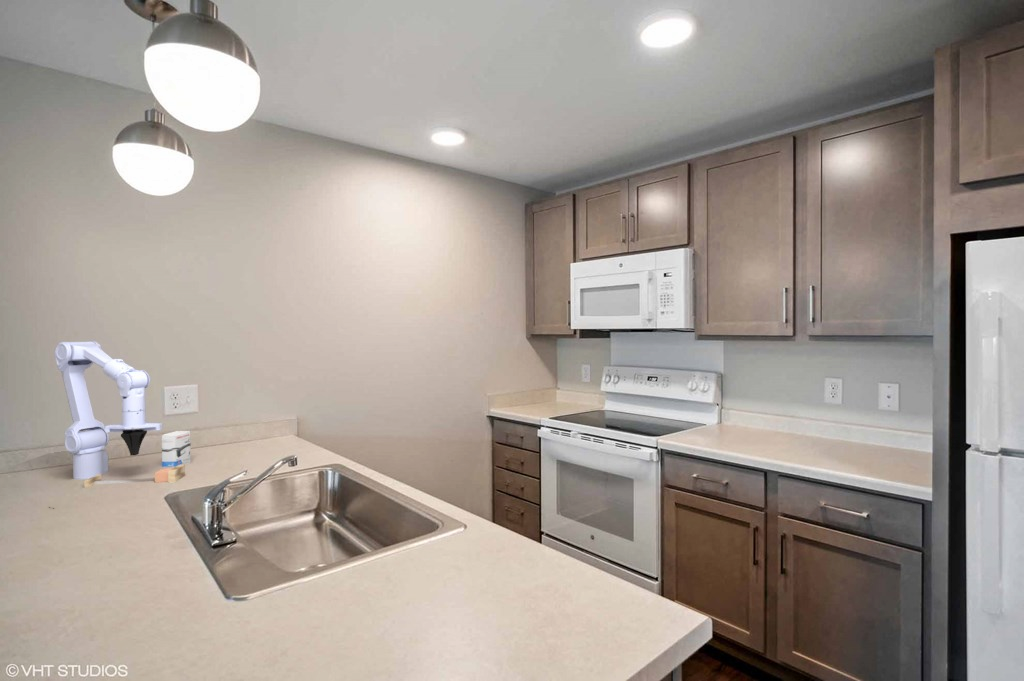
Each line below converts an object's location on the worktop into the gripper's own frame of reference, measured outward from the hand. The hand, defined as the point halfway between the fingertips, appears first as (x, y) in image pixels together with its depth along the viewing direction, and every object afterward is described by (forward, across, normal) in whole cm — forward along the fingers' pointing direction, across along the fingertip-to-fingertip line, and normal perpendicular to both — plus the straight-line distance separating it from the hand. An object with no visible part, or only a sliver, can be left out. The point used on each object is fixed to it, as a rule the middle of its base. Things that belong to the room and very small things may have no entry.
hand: (134, 454), depth 156 cm
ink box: (+10, +3, +21) cm, 23 cm away
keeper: (+8, +8, 0) cm, 12 cm away
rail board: (+9, 0, 0) cm, 9 cm away
